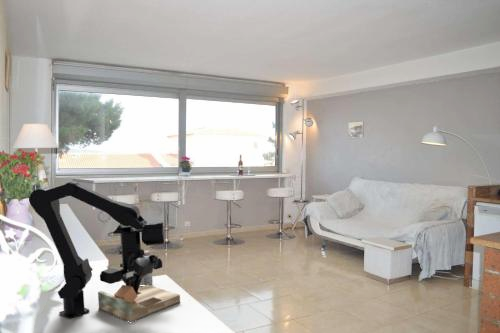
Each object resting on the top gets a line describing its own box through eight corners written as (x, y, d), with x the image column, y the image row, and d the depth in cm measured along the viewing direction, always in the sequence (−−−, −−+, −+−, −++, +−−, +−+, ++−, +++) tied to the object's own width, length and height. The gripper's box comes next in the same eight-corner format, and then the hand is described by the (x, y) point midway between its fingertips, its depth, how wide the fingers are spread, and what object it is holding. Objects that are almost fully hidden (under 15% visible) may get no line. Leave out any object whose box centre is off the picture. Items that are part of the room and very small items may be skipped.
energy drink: (148, 280, 147) (146, 248, 147) (155, 283, 143) (153, 250, 143) (134, 284, 144) (132, 251, 143) (141, 287, 140) (139, 254, 139)
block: (119, 304, 119) (113, 294, 117) (128, 294, 122) (122, 284, 120) (129, 306, 117) (123, 297, 115) (137, 296, 120) (132, 286, 118)
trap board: (98, 309, 122) (97, 291, 122) (148, 291, 136) (147, 275, 135) (130, 323, 111) (129, 304, 111) (180, 302, 125) (179, 285, 124)
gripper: (118, 257, 108) (121, 313, 109) (172, 243, 123) (174, 292, 124) (97, 252, 116) (100, 304, 116) (150, 239, 130) (153, 285, 131)
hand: (134, 296), depth 122 cm, fingers closed
